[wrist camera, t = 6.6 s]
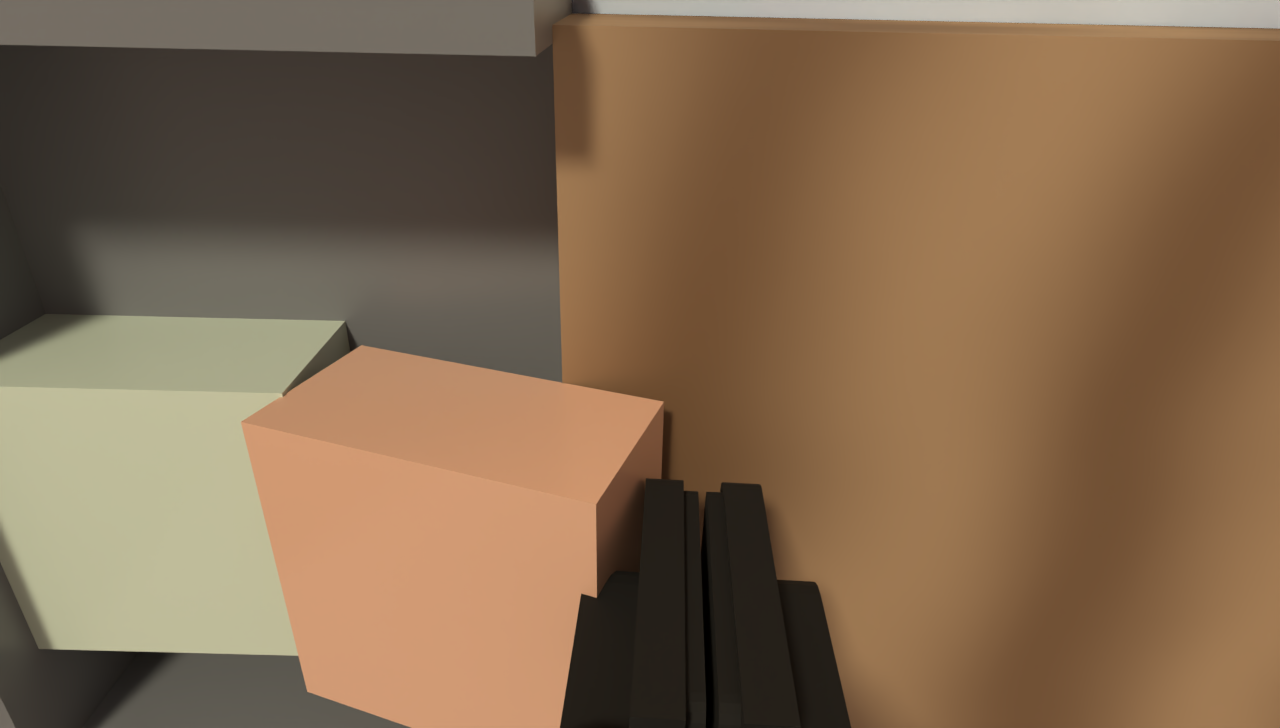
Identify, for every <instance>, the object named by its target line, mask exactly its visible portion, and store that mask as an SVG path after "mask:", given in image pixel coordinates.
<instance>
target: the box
mask: <svg viewBox="0 0 1280 728" xmlns="http://www.w3.org/2000/svg"><path fill="white" fill-rule="evenodd" d="M570 14H572V0H0V340H1V339H2V338H4V337H6V336H8V335H9V334H11V333H13V332H15V331H16V330H18V329H20V328H22V327H23V326H25V325H27V324H29V323H30V322H32V321H34V320H36V319H38V318H39V317H41V316H43V315H45V314H71V315H113V316H156V317H199V318H241V319H284V320H326V321H345V323H346V329H347V335H348V341H349V347H350V352H352V351H353V350H355V349H356V348H358V347H359V346H361V345H363V346H368V347H374V348H379V349H385V350H390V351H395V352H401V353H406V354H411V355H417V356H422V357H427V358H433V359H438V360H443V361H449V362H454V363H460V364H465V365H470V366H476V367H481V368H486V369H492V370H497V371H502V372H508V373H513V374H518V375H524V376H529V377H535V378H540V379H545V380H551V381H556V382H561V383H562V349H561V315H560V280H559V246H558V211H557V177H556V142H555V107H554V73H553V38H552V25H553V24H555V23H556V22H558V21H560V20H562V19H563V18H565V17H567V16H568V15H570ZM0 728H411V727H408V726H405V725H402V724H399V723H396V722H393V721H390V720H388V719H385V718H382V717H379V716H376V715H373V714H370V713H367V712H364V711H362V710H359V709H356V708H353V707H350V706H347V705H344V704H341V703H338V702H335V701H333V700H330V699H327V698H324V697H321V696H318V695H315V694H312V693H309V692H307V689H306V685H305V681H304V676H303V672H302V668H301V664H300V660H299V656H290V655H251V654H213V653H175V652H136V651H98V650H60V649H39V648H38V646H37V644H36V642H35V639H34V637H33V635H32V633H31V630H30V628H29V626H28V624H27V621H26V619H25V617H24V615H23V612H22V610H21V608H20V606H19V603H18V601H17V599H16V597H15V594H14V592H13V590H12V588H11V585H10V583H9V581H8V579H7V576H6V574H5V572H4V570H3V567H2V565H1V563H0Z"/></svg>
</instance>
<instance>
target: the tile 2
mask: <svg viewBox="0 0 1280 728" xmlns="http://www.w3.org/2000/svg"><path fill="white" fill-rule="evenodd" d="M663 417H664V402H663V401H658V400H652V399H647V398H642V397H636V396H631V395H626V394H620V393H615V392H610V391H604V390H599V389H594V388H588V387H583V386H577V385H572V384H566V383H561V382H556V381H551V380H545V379H540V378H535V377H529V376H524V375H518V374H513V373H508V372H502V371H497V370H492V369H486V368H481V367H476V366H470V365H465V364H460V363H454V362H449V361H443V360H438V359H433V358H427V357H422V356H417V355H411V354H406V353H401V352H395V351H390V350H385V349H379V348H374V347H368V346H363V345H361V346H359V347H358V348H356V349H355V350H353V351H352V352H350V353H348V354H347V355H345V356H344V357H342V358H341V359H339V360H337V361H336V362H334V363H333V364H331V365H330V366H328V367H326V368H325V369H323V370H322V371H320V372H318V373H317V374H315V375H314V376H312V377H311V378H309V379H307V380H306V381H304V382H303V383H301V384H300V385H298V386H296V387H295V388H293V389H292V390H290V391H289V392H287V393H286V394H285V395H284V396H283V397H279V398H278V399H276V400H274V401H273V402H271V403H270V404H268V405H267V406H265V407H263V408H262V409H260V410H259V411H257V412H256V413H254V414H252V415H251V416H249V417H248V418H246V419H245V420H243V421H241V425H242V429H243V433H244V437H245V441H246V445H247V449H248V453H249V457H250V461H251V465H252V470H253V474H254V478H255V482H256V486H257V490H258V494H259V498H260V502H261V506H262V510H263V514H264V518H265V522H266V526H267V530H268V534H269V539H270V543H271V547H272V551H273V555H274V559H275V563H276V567H277V571H278V575H279V579H280V583H281V587H282V591H283V595H284V599H285V603H286V607H287V612H288V616H289V620H290V624H291V628H292V632H293V636H294V640H295V644H296V648H297V652H298V656H299V660H300V664H301V668H302V672H303V676H304V681H305V685H306V689H307V692H309V693H312V694H315V695H318V696H321V697H324V698H327V699H330V700H333V701H335V702H338V703H341V704H344V705H347V706H350V707H353V708H356V709H359V710H362V711H364V712H367V713H370V714H373V715H376V716H379V717H382V718H385V719H388V720H390V721H393V722H396V723H399V724H402V725H405V726H408V727H411V728H560V723H561V717H562V711H563V705H564V698H565V692H566V686H567V679H568V673H569V667H570V661H571V654H572V648H573V642H574V636H575V629H576V623H577V617H578V610H579V604H580V598H581V594H585V595H588V596H592V597H596V598H597V597H598V595H599V593H600V592H601V590H602V588H603V586H604V585H605V583H606V581H607V580H608V579H609V577H610V576H611V574H613V573H614V572H615V571H627V572H639V570H640V555H641V540H642V526H643V511H644V496H645V481H646V478H650V479H661V473H662V445H663Z"/></svg>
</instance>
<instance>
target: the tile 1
mask: <svg viewBox="0 0 1280 728" xmlns="http://www.w3.org/2000/svg"><path fill="white" fill-rule="evenodd" d="M348 353H350V347H349V341H348V335H347V329H346V323H345V321H326V320H284V319H241V318H199V317H156V316H113V315H71V314H45V315H43V316H41V317H39V318H38V319H36V320H34V321H32V322H30V323H29V324H27V325H25V326H23V327H22V328H20V329H18V330H16V331H15V332H13V333H11V334H9V335H8V336H6V337H4V338H2V339H1V340H0V563H1V565H2V567H3V570H4V572H5V574H6V576H7V579H8V581H9V583H10V585H11V588H12V590H13V592H14V594H15V597H16V599H17V601H18V603H19V606H20V608H21V610H22V612H23V615H24V617H25V619H26V621H27V624H28V626H29V628H30V630H31V633H32V635H33V637H34V639H35V642H36V644H37V646H38V648H39V649H60V650H98V651H136V652H175V653H213V654H251V655H290V656H298V652H297V648H296V644H295V640H294V636H293V632H292V628H291V624H290V620H289V616H288V612H287V607H286V603H285V599H284V595H283V591H282V587H281V583H280V579H279V575H278V571H277V567H276V563H275V559H274V555H273V551H272V547H271V543H270V539H269V534H268V530H267V526H266V522H265V518H264V514H263V510H262V506H261V502H260V498H259V494H258V490H257V486H256V482H255V478H254V474H253V470H252V465H251V461H250V457H249V453H248V449H247V445H246V441H245V437H244V433H243V429H242V425H241V421H243V420H245V419H246V418H248V417H249V416H251V415H252V414H254V413H256V412H257V411H259V410H260V409H262V408H263V407H265V406H267V405H268V404H270V403H271V402H273V401H274V400H276V399H278V398H279V397H283V396H284V395H285V394H286V393H287V392H289V391H290V390H292V389H293V388H295V387H296V386H298V385H300V384H301V383H303V382H304V381H306V380H307V379H309V378H311V377H312V376H314V375H315V374H317V373H318V372H320V371H322V370H323V369H325V368H326V367H328V366H330V365H331V364H333V363H334V362H336V361H337V360H339V359H341V358H342V357H344V356H345V355H347V354H348Z"/></svg>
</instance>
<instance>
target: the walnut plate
mask: <svg viewBox="0 0 1280 728" xmlns="http://www.w3.org/2000/svg"><path fill="white" fill-rule="evenodd" d="M552 38H553V73H554V107H555V142H556V177H557V211H558V246H559V280H560V315H561V349H562V383H566V384H572V385H577V386H583V387H588V388H594V389H599V390H604V391H610V392H615V393H620V394H626V395H631V396H636V397H642V398H647V399H652V400H658V401H663V402H664V417H663V445H662V473H661V479H669V480H683V481H684V491H698V494H699V520H700V548H701V544H702V532H703V520H704V508H705V497H706V492H720V488H721V483H722V482H730V483H749V484H760V485H761V487H762V492H763V498H764V504H765V510H766V516H767V522H768V529H769V535H770V541H771V547H772V553H773V559H774V565H775V571H776V577H777V580H793V581H811V582H815V583H816V584H817V585H818V588H819V591H820V594H821V598H822V603H823V607H824V611H825V616H826V620H827V624H828V629H829V633H830V637H831V642H832V646H833V650H834V655H835V659H836V663H837V668H838V672H839V676H840V681H841V685H842V689H843V694H844V698H845V702H846V707H847V711H848V715H849V720H850V724H851V728H1280V29H1268V28H1221V27H1175V26H1129V25H1083V24H1037V23H991V22H944V21H898V20H852V19H806V18H760V17H713V16H667V15H621V14H575V13H572V14H570V15H568V16H567V17H565V18H563V19H562V20H560V21H558V22H556V23H555V24H553V25H552Z"/></svg>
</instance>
